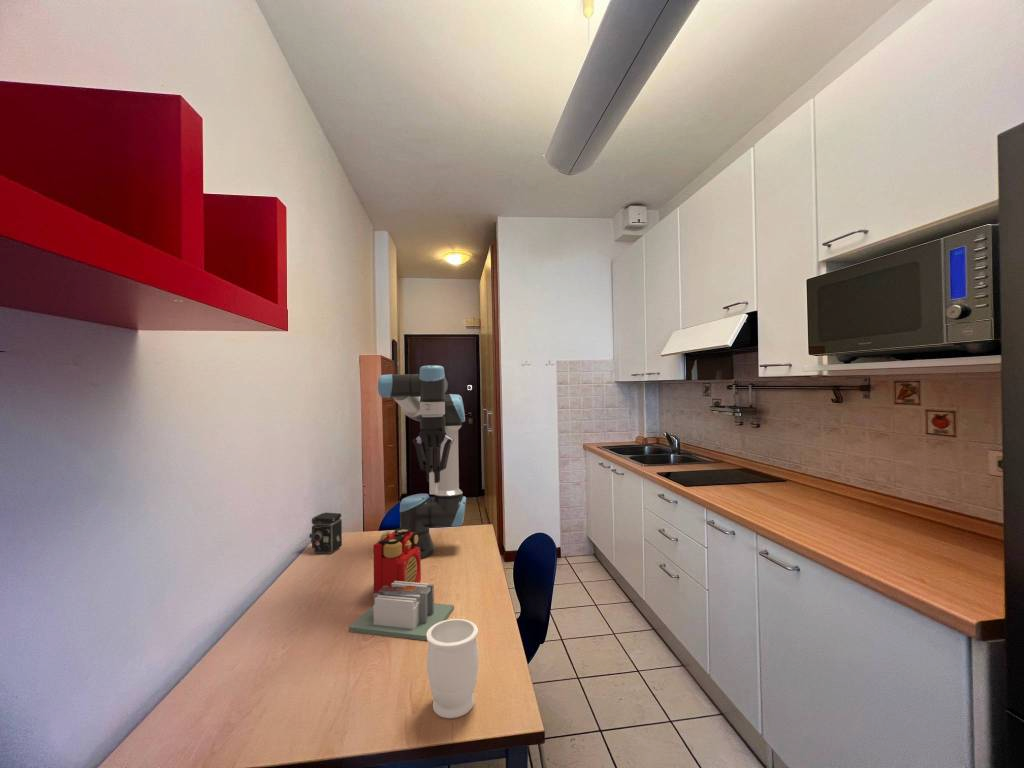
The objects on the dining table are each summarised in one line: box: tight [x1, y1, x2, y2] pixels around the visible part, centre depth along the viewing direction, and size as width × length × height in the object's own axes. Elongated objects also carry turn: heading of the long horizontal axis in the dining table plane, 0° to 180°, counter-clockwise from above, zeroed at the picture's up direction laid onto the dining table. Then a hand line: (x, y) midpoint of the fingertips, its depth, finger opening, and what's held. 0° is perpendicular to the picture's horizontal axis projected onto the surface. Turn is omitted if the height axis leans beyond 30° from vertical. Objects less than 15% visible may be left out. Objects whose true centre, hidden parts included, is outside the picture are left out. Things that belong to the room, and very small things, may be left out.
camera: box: [309, 512, 343, 555], centre depth 179 cm, size 10×10×15 cm
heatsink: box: [348, 581, 455, 642], centre depth 123 cm, size 24×17×9 cm
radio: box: [373, 527, 422, 595], centre depth 141 cm, size 16×10×20 cm, turn 168°
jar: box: [426, 618, 480, 719], centre depth 89 cm, size 11×10×15 cm
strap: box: [378, 586, 431, 595], centre depth 123 cm, size 15×3×2 cm, turn 77°
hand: (433, 493), depth 131 cm, fingers closed
